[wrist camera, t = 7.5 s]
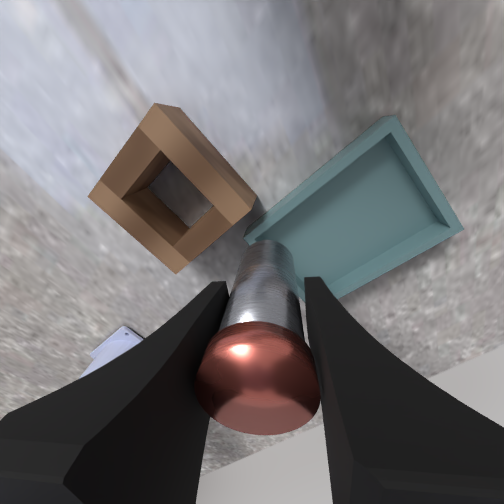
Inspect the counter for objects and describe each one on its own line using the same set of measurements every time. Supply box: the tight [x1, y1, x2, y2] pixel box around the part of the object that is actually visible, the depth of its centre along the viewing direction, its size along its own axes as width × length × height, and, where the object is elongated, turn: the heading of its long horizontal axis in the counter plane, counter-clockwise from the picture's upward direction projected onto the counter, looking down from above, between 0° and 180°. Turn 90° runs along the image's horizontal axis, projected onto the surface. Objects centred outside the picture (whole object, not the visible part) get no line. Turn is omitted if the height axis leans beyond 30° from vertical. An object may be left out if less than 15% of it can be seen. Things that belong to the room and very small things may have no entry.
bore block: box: [88, 103, 257, 274], centre depth 17 cm, size 8×8×4 cm
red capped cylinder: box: [194, 240, 321, 435], centre depth 10 cm, size 3×3×8 cm
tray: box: [243, 115, 464, 302], centre depth 18 cm, size 9×12×2 cm
